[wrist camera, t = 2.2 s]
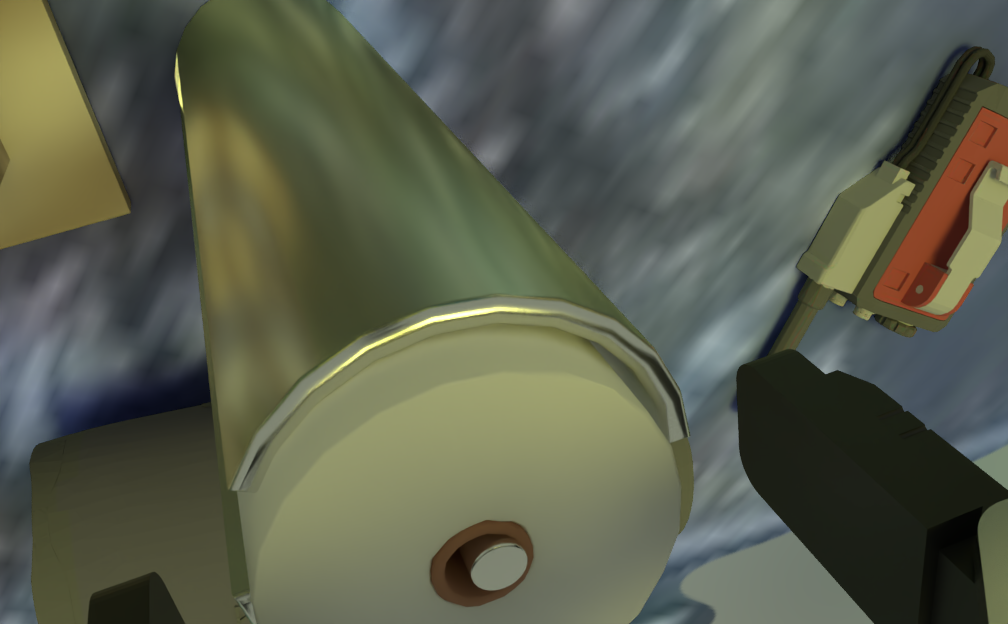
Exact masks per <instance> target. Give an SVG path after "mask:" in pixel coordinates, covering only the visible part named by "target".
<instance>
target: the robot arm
mask: <svg viewBox="0 0 1008 624" xmlns="http://www.w3.org/2000/svg"><path fill="white" fill-rule="evenodd" d="M736 382H737V406H738V430H739V450H740V456H741V460H742V464H743V467H744V469H745V472H746V474H747V476H748V478H749V480H750V482H751V484H752V485H753V487H754V488H755V490H756V491H757V492H758V494H759V495H760V496H761V497H762V498H763V499H764V500H765V501H766V503H767V504H768V505H769V506H770V507H771V508H772V509H773V510H774V512H775V513H776V514H777V515H778V516H779V517H780V518H781V519H782V521H783V522H784V523H785V524H786V525H787V526H788V527H789V528H790V530H791V531H792V532H793V533H794V534H795V535H796V536H797V537H798V538H799V540H800V541H801V542H802V543H803V544H804V545H805V546H806V548H808V550H809V551H810V552H811V553H812V554H813V555H814V556H815V558H816V559H817V560H818V561H819V562H820V563H821V564H822V566H823V567H824V568H825V569H826V570H827V571H828V572H829V573H830V574H831V576H832V577H833V578H834V579H835V580H836V581H837V582H838V583H839V585H840V586H841V587H842V588H843V589H844V590H845V591H846V592H847V594H848V595H849V596H850V597H851V598H852V599H853V600H854V601H855V603H856V604H857V605H858V606H859V607H860V608H861V609H862V610H863V611H864V612H865V614H866V615H867V616H868V617H869V618H870V619H871V620H872V622H873V623H874V624H1008V490H1007V489H1006V488H1004V487H1003V486H1002V485H1001V484H999V483H998V482H997V481H995V480H994V479H993V478H992V477H990V476H989V475H988V474H987V473H985V472H984V471H983V470H982V469H980V468H979V467H978V466H977V465H975V464H974V463H973V462H972V461H970V460H969V459H968V458H966V457H965V456H964V455H963V454H961V453H960V452H959V451H958V450H956V449H955V448H954V447H953V446H951V445H950V444H949V443H948V442H946V441H945V440H944V439H942V438H941V437H940V436H939V435H937V434H936V433H935V432H934V431H932V430H931V429H930V430H927V429H926V427H925V424H924V423H922V422H921V421H920V420H919V419H917V418H916V417H915V416H913V415H912V414H911V413H910V412H908V411H906V412H904V410H903V408H902V406H901V405H900V404H898V403H897V402H896V401H895V400H893V399H892V398H891V397H890V396H888V395H887V394H886V393H884V392H883V391H882V390H881V389H879V388H878V387H877V386H876V385H874V384H872V383H869V382H867V381H864V380H861V379H859V378H856V377H854V376H851V375H849V374H846V373H844V372H841V371H839V370H836V371H834V372H831V373H828V374H824V373H823V372H822V371H821V370H820V369H818V368H817V367H816V366H815V365H814V364H812V363H811V362H810V361H809V360H808V359H806V358H805V357H804V356H803V355H802V354H800V353H799V352H798V351H796V350H794V349H786V350H783V351H780V352H777V353H775V354H772V355H769V356H766V357H763V358H761V359H758V360H755V361H752V362H749V363H746V364H744V365H742V366H740V367H739V369H738V371H737V377H736ZM87 624H185V622H184V620H183V618H182V616H181V614H180V613H179V611H178V609H177V607H176V605H175V603H174V601H173V599H172V597H171V595H170V593H169V591H168V589H167V587H166V585H165V584H164V582H163V580H162V578H161V577H160V576H159V575H158V573H156V572H151V573H148V574H146V575H143V576H140V577H137V578H134V579H131V580H129V581H126V582H123V583H120V584H117V585H114V586H112V587H109V588H106V589H103V590H100V591H98V592H95V593H93V594H92V595H91V598H90V601H89V610H88V623H87Z"/></svg>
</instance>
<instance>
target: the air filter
mask: <svg viewBox="0 0 1008 624" xmlns="http://www.w3.org/2000/svg"><path fill="white" fill-rule="evenodd" d="M174 77H175V82H176V87H177V92H178V97H179V103H180V112H181V121H182V131H183V140H184V150H185V159H186V169H187V178H188V187H189V197H190V206H191V216H192V225H193V235H194V244H195V253H196V263H197V272H198V282H199V291H200V301H201V310H202V319H203V329H204V338H205V348H206V357H207V367H208V376H209V385H210V395H211V404H212V414H213V423H214V432H215V442H216V451H217V461H218V470H219V480H220V489H221V498H222V508H223V517H224V527H225V536H226V546H227V555H228V564H229V574H230V583H231V593H232V595H233V597H234V599H235V600H236V602H237V603H238V605H239V606H240V608H241V609H242V611H243V612H244V614H245V615H246V617H247V618H248V620H249V621H250V623H251V624H629V623H630V622H631V621H632V620H633V619H634V618H635V617H636V616H637V615H638V614H639V613H640V611H641V609H642V608H643V606H644V604H645V602H646V601H647V599H648V597H649V596H650V594H651V592H652V590H653V589H654V587H655V585H656V584H657V582H658V580H659V578H660V577H661V575H662V573H663V571H664V569H665V566H666V564H667V561H668V559H669V556H670V554H671V551H672V548H673V546H674V543H675V541H676V538H677V536H678V533H679V531H680V508H681V483H680V478H679V474H678V470H677V466H676V462H675V458H674V454H673V449H672V446H671V445H670V443H672V442H675V441H677V440H680V439H683V438H686V437H689V436H690V431H689V427H688V422H687V418H686V413H685V409H684V404H683V399H682V395H681V391H680V388H679V387H678V385H677V383H676V382H675V380H674V379H673V377H672V375H671V374H670V372H669V371H668V369H667V367H666V366H665V364H664V363H663V361H662V359H661V358H660V356H659V355H658V353H657V351H656V350H655V348H654V347H653V346H652V345H651V344H650V343H649V342H648V341H647V339H646V338H645V337H644V336H643V335H642V334H641V333H640V332H639V331H638V330H637V329H636V328H635V327H634V326H633V324H632V323H631V322H630V321H629V320H628V319H627V318H626V317H625V316H624V315H623V314H622V313H621V312H620V311H619V310H618V308H617V307H616V306H615V305H614V304H613V303H612V302H611V301H610V300H609V299H608V298H607V297H606V296H605V295H604V294H603V292H602V291H601V290H600V289H599V288H598V287H597V286H596V285H595V284H594V283H593V282H592V281H591V280H590V279H589V277H588V276H587V275H586V274H585V273H584V272H583V271H582V270H581V269H580V268H579V267H578V266H577V265H576V264H575V263H574V261H573V260H572V259H571V258H570V257H569V256H568V255H567V254H566V253H565V252H564V251H563V250H562V249H561V248H560V247H559V245H558V244H557V243H556V242H555V241H554V240H553V239H552V238H551V237H550V236H549V235H548V234H547V233H546V232H545V231H544V229H543V228H542V227H541V226H540V225H539V224H538V223H537V222H536V221H535V220H534V219H533V218H532V217H531V216H530V214H529V213H528V212H527V211H526V210H525V209H524V208H523V207H522V206H521V205H520V204H519V203H518V202H517V201H516V200H515V198H514V197H513V196H512V195H511V194H510V193H509V192H508V191H507V190H506V189H505V188H504V187H503V186H502V185H501V184H500V182H499V181H498V180H497V179H496V178H495V177H494V176H493V175H492V174H491V173H490V172H489V171H488V170H487V169H486V167H485V166H484V165H483V164H482V163H481V162H480V161H479V160H478V159H477V158H476V157H475V156H474V155H473V154H472V153H471V151H470V150H469V149H468V148H467V147H466V146H465V145H464V144H463V143H462V142H461V141H460V140H459V139H458V138H457V137H456V135H455V134H454V133H453V132H452V131H451V130H450V129H449V128H448V127H447V126H446V125H445V124H444V123H443V122H442V121H441V119H440V118H439V117H438V116H437V115H436V114H435V113H434V112H433V111H432V110H431V109H430V108H429V107H428V106H427V104H426V103H425V102H424V101H423V100H422V99H421V98H420V97H419V96H418V95H417V94H416V93H415V92H414V91H413V90H412V88H411V87H410V86H409V85H408V84H407V83H406V82H405V81H404V80H403V79H402V78H401V77H400V76H399V75H398V74H397V72H396V71H395V70H394V69H393V68H392V67H391V66H390V65H389V64H388V63H387V62H386V61H385V60H384V59H383V57H382V56H381V55H380V54H379V53H378V52H377V51H376V50H375V49H374V48H373V47H372V46H371V45H370V44H369V43H368V41H367V40H366V39H365V38H364V37H363V36H362V35H361V34H360V33H359V32H358V31H357V30H356V29H355V28H354V27H353V25H352V24H351V23H350V22H349V21H348V20H347V19H346V18H345V17H344V16H343V15H342V14H341V13H340V12H339V11H338V10H337V9H336V8H334V7H333V6H332V5H331V4H330V3H329V2H327V1H326V0H209V1H208V2H207V3H205V4H204V5H202V6H201V7H200V9H199V10H198V11H197V13H196V14H195V15H194V16H193V18H192V19H191V20H190V22H189V23H188V24H187V26H186V27H185V30H184V32H183V35H182V37H181V40H180V43H179V45H178V48H177V51H176V63H175V75H174Z"/></svg>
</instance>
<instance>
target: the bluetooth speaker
mask: <svg viewBox="0 0 1008 624" xmlns="http://www.w3.org/2000/svg"><path fill="white" fill-rule="evenodd" d="M670 445H671V446H672V449H673V454H674V458H675V462H676V466H677V470H678V474H679V478H680V483H681V508H680V531H679V533H678V534H680V533H681V531H682V530H683V529H684V527H685V525H686V523H687V521H688V519H689V515H690V511H691V506H692V501H693V490H694V477H693V461H692V454H691V449H690V445H689V442H688V439H687V437H686V438H683V439H680V440H677V441H675V442H672V443H670ZM29 464H30V473H31V481H32V534H33V551H32V575H31V583H32V592H33V600H34V606H35V611H36V616H37V621H38V624H87V623H88V610H89V601H90V598H91V595H92V594H93V593H95V592H98V591H100V590H103V589H106V588H109V587H112V586H114V585H117V584H120V583H123V582H126V581H129V580H131V579H134V578H137V577H140V576H143V575H146V574H148V573H151V572H156V573H158V575H159V576H160V577H161V578H162V580H163V582H164V584H165V585H166V587H167V589H168V591H169V593H170V595H171V597H172V599H173V601H174V603H175V605H176V607H177V609H178V611H179V613H180V614H181V616H182V618H183V620H184V622H185V624H251V623H250V621H249V620H248V618H247V617H246V615H245V614H244V612H243V611H242V609H241V608H240V606H239V605H238V603H237V602H236V600H235V599H234V597H233V595H232V593H231V583H230V574H229V564H228V555H227V546H226V536H225V527H224V517H223V508H222V498H221V489H220V480H219V470H218V461H217V451H216V442H215V432H214V423H213V414H212V404H211V402H209V403H204V404H202V405H199V406H194V407H189V408H184V409H179V410H174V411H169V412H165V413H160V414H155V415H150V416H145V417H141V418H136V419H131V420H126V421H121V422H117V423H113V424H109V425H104V426H100V427H96V428H92V429H88V430H84V431H81V432H77V433H74V434H70V435H66V436H63V437H60V438H56V439H53V440H50V441H46V442H43V443H40V444H38V445H36V446H35V448H34V449H33V452H32V455H31V458H30V463H29Z"/></svg>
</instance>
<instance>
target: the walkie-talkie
mask: <svg viewBox="0 0 1008 624" xmlns="http://www.w3.org/2000/svg"><path fill="white" fill-rule="evenodd" d="M978 59H979V62H978V66H977V69H976V70H975V72H974V74H973V75H972V74H968V71H969V70H970V68H971V66H972V65H973V64H974V63H975V62H976V61H977V60H978ZM994 65H995V58H994V56H993V54H992V53H991V52H990V51H989V50H988V49H984V48H982V47H977V46H975V47H972V48H970V49H968V50H966V52H965V53H964V54H963V55H962V56H961V57H960V58H959V59H958V60H957V62H956V64H955V65H954V67H953V69H952V71H951V72H950V74H948V75H947V76H945V77H943V78H941V79H940V80H939V81H940V83H939V85H938V87H937V88H935V89H934V91H933V93H934V94H933V95H932V97H931V99H930V100H928V101H927V106H926V108H925V109H924V111H922V112H921V113H920V114H921V116H920V118H919V120H918V122H915V124H914V126H915V127H914V129H913V130H912V132H911V133H909V134H908V139H907V141H906V143H903V145H902V150H901V151H900V153H899V154H897V156H896V158H895V159H894V161H893V162H892V163H889V162H887V161H885V160H884V162H883V164H882V166H881V168H880V167H878V168H877V169H875V170H874V171H872V172H871V173H870V174H868V175H867V176H865V177H864V178H862V179H861V180H859V181H858V182H856V183H855V184H853V185H852V186H850V187H849V188H848V189H846V190H845V191H843V192H842V193H840V195H839V196H838V198H837V200H836V202H835V203H834V205H833V207H832V209H831V210H830V212H829V214H828V216H827V218H826V219H825V221H824V223H823V225H822V226H821V228H820V230H819V232H818V234H817V235H816V237H815V239H814V241H813V242H812V244H811V246H810V248H809V250H808V251H807V252H805V253H804V254H803V255H802V257H801V259H800V261H799V263H798V264H797V266H796V267H797V268H798V269H799V270H801V271H802V272H803V273H805V274H806V275H808V276H809V277H808V279H807V280H806V282H805V284H804V286H803V287H802V289H801V291H800V293H799V295H798V299H799V300H798V302H797V304H796V305H795V307H794V309H793V311H792V312H791V314H790V316H789V318H788V320H787V321H786V323H785V325H784V327H783V329H782V330H781V332H780V334H779V336H778V337H777V339H776V341H775V343H774V345H773V346H772V348H771V350H770V352H769V353H768V355H767V356H769V355H772V354H775V353H777V352H780V351H783V350H786V349H794V350H796V348H797V346H798V344H799V343H800V341H801V339H802V337H803V336H804V334H805V332H806V330H807V329H808V327H809V325H810V323H811V322H812V320H813V318H814V316H815V315H816V313H817V311H818V310H821V309H823V307H824V306H825V304H826V302H827V301H828V299H829V300H830V301H832V302H833V303H835V304H837V305H840V306H843V305H844V304H845V302H846V300H849V301H851V302H852V303H853V304H855V305H856V307H855V309H854V311H853V313H854V314H855V315H857V316H859V317H861V318H863V319H865V320H869V318H870V317H871V315H872V314H875V316H874V317H875V320H876V321H877V322H878V323H880V324H881V325H883V326H884V327H886V328H887V329H889V330H891V331H894V332H896V333H898V334H900V335H902V336H905V337H913V336H914V334H915V333H916V331H917V329H916V327H920V328H923V329H926V330H929V331H932V332H938V331H940V330H941V329H942V328H944V327H945V326H946V325H947V324H948V322H949V321H950V319H951V317H952V316H953V314H954V313H955V311H957V310H958V309H959V307H960V306H961V305H962V303H963V302H964V300H965V299H966V297H967V295H968V294H969V292H970V291H971V289H972V287H973V286H974V285H973V283H974V281H975V279H976V278H978V277H979V276H980V275H981V273H982V272H983V270H984V269H985V267H986V266H987V264H988V262H989V261H990V259H991V258H992V256H993V255H994V253H995V251H996V250H997V248H998V247H999V245H1000V244H1001V237H1002V235H1003V234H1004V232H1006V230H1007V228H1008V87H1006V86H1003V85H1001V84H999V83H996V82H993V81H990V80H988V79H989V77H990V75H991V73H992V71H993V68H994ZM915 326H916V327H915Z"/></svg>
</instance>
